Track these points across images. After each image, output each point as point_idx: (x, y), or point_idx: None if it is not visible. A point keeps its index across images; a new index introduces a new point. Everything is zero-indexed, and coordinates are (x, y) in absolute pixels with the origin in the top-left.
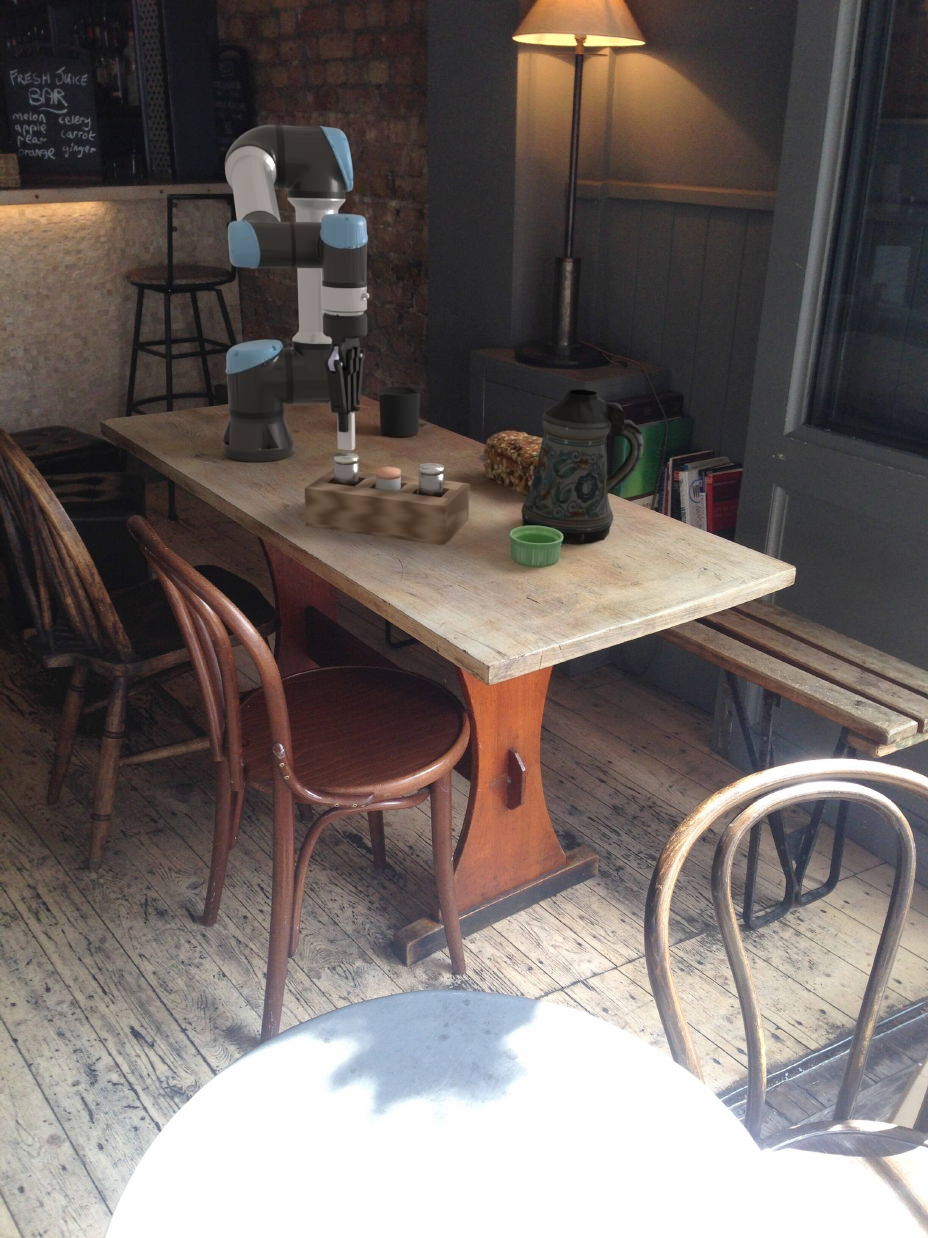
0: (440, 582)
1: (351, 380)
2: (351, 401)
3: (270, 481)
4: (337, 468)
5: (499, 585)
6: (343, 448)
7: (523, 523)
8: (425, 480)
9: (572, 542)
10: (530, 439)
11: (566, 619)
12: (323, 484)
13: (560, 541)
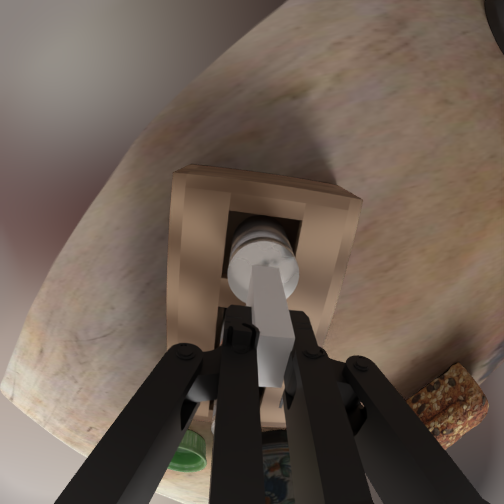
0: (77, 374)
1: (297, 496)
2: (287, 411)
3: (422, 46)
4: (233, 248)
5: (101, 414)
6: (249, 283)
7: (264, 437)
8: (213, 411)
9: None
10: (444, 444)
11: (74, 439)
12: (213, 207)
13: (172, 469)
